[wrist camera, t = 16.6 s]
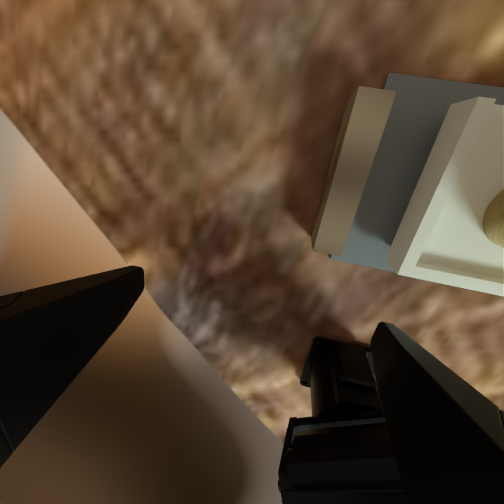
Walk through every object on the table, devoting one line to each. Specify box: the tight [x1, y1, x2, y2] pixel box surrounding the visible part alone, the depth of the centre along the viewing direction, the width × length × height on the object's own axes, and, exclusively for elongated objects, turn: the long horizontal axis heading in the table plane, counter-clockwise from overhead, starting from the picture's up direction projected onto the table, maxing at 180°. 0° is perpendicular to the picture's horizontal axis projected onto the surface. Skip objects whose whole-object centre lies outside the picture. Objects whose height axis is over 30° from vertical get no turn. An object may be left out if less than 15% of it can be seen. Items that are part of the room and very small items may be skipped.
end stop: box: [311, 86, 397, 257], centre depth 17 cm, size 10×2×3 cm, turn 171°
